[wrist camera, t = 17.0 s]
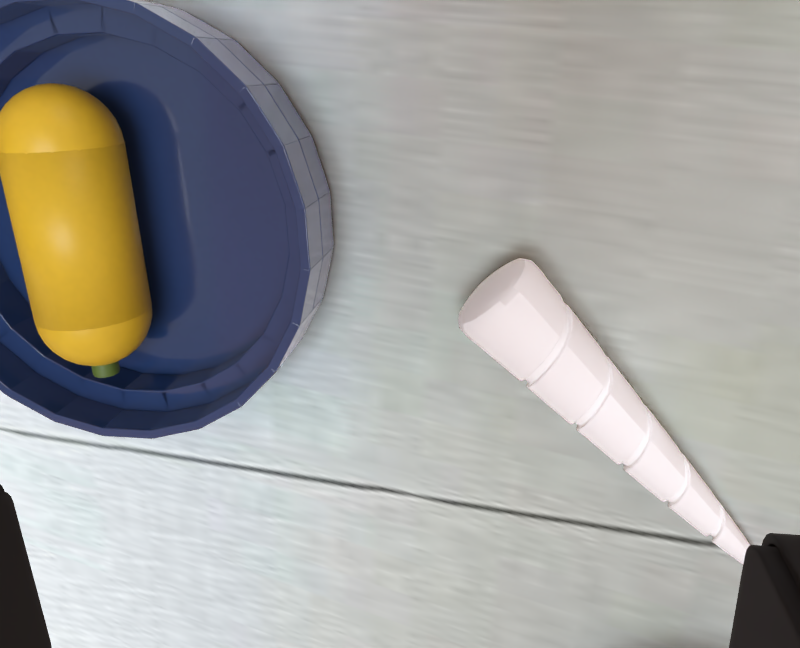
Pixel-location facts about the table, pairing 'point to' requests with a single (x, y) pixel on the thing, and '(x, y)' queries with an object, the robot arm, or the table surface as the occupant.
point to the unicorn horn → (588, 391)
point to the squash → (75, 224)
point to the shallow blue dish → (175, 215)
